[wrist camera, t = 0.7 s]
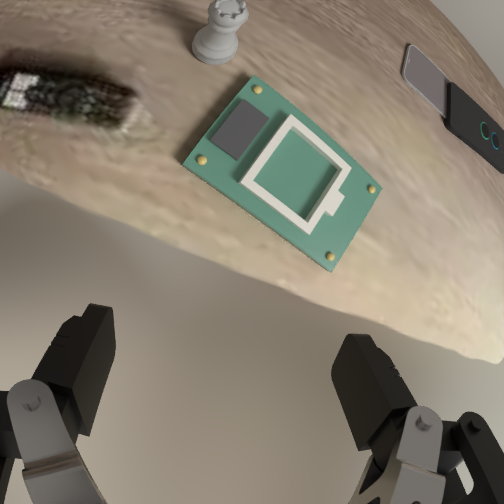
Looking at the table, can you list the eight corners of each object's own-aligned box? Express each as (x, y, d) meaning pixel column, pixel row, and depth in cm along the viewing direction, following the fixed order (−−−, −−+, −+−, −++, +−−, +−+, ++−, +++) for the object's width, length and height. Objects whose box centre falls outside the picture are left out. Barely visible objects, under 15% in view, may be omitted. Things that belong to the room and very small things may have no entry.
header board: (181, 165, 26) (183, 162, 24) (250, 78, 27) (257, 70, 25) (325, 269, 32) (336, 274, 30) (375, 188, 32) (388, 188, 30)
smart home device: (508, 176, 39) (450, 126, 33) (501, 175, 41) (442, 128, 35) (509, 135, 38) (451, 79, 32) (502, 135, 40) (443, 81, 34)
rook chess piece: (223, 73, 26) (244, 35, 18) (182, 55, 24) (191, 12, 17) (243, 42, 26) (268, 1, 18) (204, 24, 24) (219, -21, 17)
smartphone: (465, 138, 36) (402, 77, 31) (461, 139, 37) (398, 79, 32) (470, 102, 35) (410, 41, 30) (466, 103, 36) (406, 43, 31)
